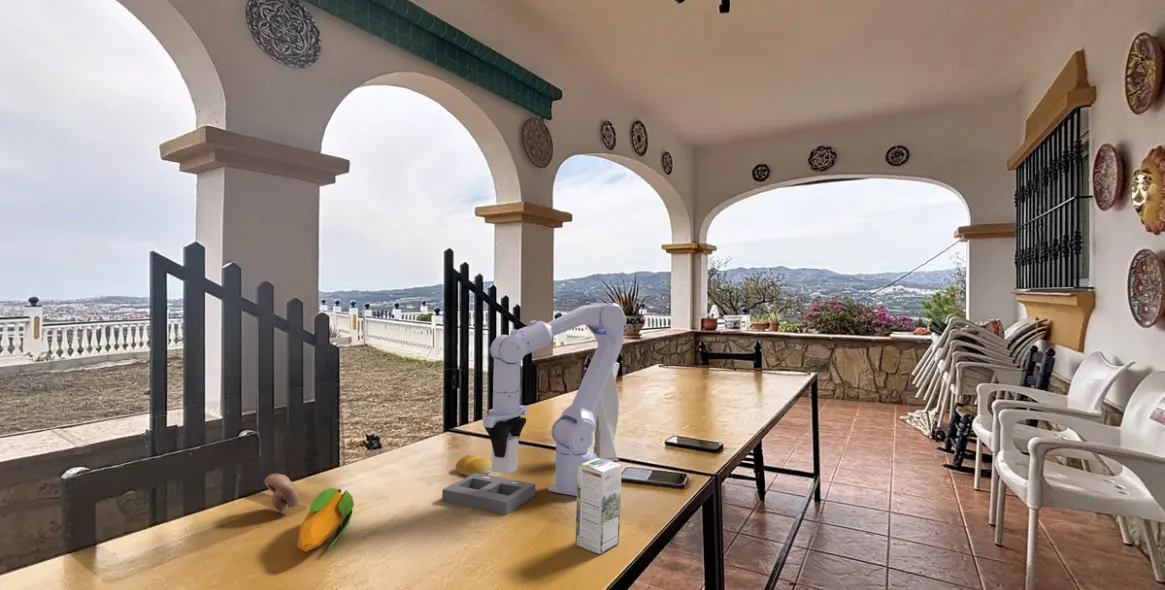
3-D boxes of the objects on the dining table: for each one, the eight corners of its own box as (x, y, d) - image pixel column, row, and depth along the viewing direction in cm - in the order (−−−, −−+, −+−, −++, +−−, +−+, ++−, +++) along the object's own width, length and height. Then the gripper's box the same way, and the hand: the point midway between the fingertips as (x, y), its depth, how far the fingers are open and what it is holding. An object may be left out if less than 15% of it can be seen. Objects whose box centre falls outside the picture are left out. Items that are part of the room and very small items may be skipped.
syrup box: (594, 534, 97) (596, 456, 98) (620, 544, 94) (622, 463, 94) (574, 545, 93) (576, 463, 93) (601, 556, 89) (602, 470, 89)
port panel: (535, 494, 117) (535, 483, 117) (506, 514, 106) (506, 501, 106) (475, 483, 123) (475, 472, 123) (442, 501, 112) (442, 488, 112)
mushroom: (264, 508, 106) (265, 469, 106) (298, 503, 109) (299, 465, 109) (262, 522, 100) (263, 480, 100) (298, 517, 103) (299, 476, 103)
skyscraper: (585, 454, 148) (587, 355, 148) (612, 452, 151) (613, 355, 151) (594, 463, 140) (596, 358, 140) (623, 461, 143) (624, 358, 143)
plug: (517, 468, 114) (518, 432, 114) (507, 474, 110) (508, 437, 110) (502, 466, 116) (502, 430, 116) (491, 471, 112) (492, 434, 112)
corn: (359, 476, 104) (330, 518, 84) (360, 515, 104) (332, 565, 84) (318, 481, 103) (280, 524, 83) (320, 519, 103) (282, 572, 83)
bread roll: (473, 480, 126) (474, 463, 126) (450, 472, 132) (450, 456, 132) (499, 471, 132) (499, 456, 132) (476, 464, 138) (476, 449, 138)
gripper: (508, 384, 121) (507, 443, 121) (471, 394, 108) (469, 460, 108) (535, 387, 118) (534, 447, 118) (500, 397, 105) (499, 465, 105)
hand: (505, 454), depth 113 cm, fingers closed on plug, 4 cm apart
